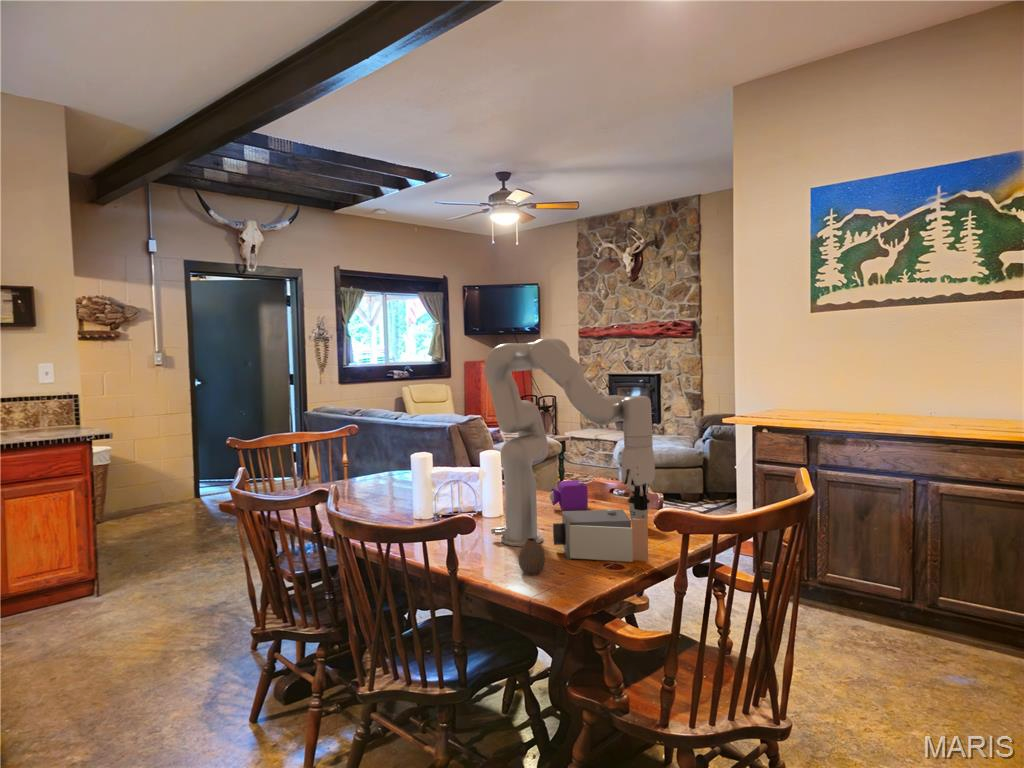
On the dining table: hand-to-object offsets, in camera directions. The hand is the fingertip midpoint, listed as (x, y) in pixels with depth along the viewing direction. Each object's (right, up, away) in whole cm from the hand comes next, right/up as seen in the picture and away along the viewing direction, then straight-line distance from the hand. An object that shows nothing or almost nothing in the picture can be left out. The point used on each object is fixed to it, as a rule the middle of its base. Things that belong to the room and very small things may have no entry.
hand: (640, 509), depth 164 cm
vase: (-30, -15, -6) cm, 34 cm away
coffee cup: (+6, -12, +31) cm, 34 cm away
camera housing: (-12, -14, +10) cm, 21 cm away
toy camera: (-14, -12, +57) cm, 60 cm away
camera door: (-9, -14, 0) cm, 17 cm away
